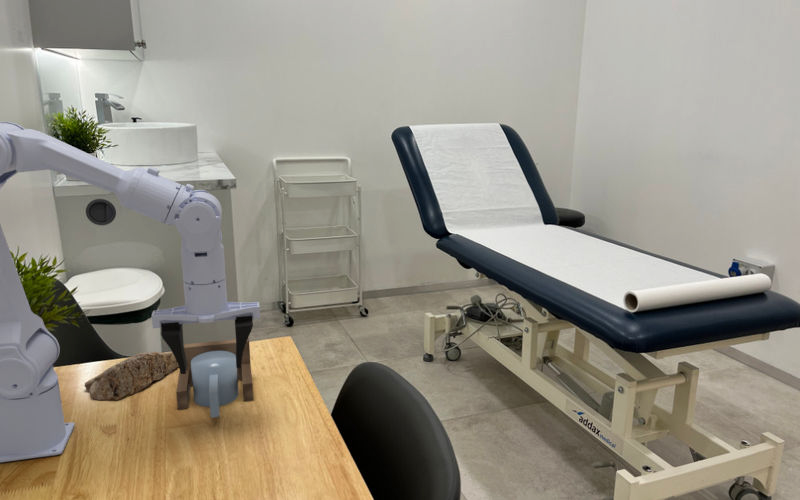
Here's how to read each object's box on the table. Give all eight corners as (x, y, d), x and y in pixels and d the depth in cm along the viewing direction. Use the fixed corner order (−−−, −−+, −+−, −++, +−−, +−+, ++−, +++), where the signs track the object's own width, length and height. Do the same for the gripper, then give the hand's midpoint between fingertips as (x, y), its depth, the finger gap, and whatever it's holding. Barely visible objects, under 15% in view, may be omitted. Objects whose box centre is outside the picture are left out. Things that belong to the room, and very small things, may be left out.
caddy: (177, 409, 94) (174, 368, 92) (181, 382, 102) (178, 344, 101) (253, 400, 97) (251, 360, 95) (251, 375, 105) (248, 338, 104)
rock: (121, 407, 95) (116, 374, 93) (70, 396, 98) (66, 364, 97) (183, 367, 109) (181, 337, 107) (138, 358, 112) (134, 330, 111)
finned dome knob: (190, 429, 88) (187, 389, 87) (194, 389, 100) (191, 353, 99) (239, 423, 90) (237, 383, 89) (238, 384, 102) (235, 348, 101)
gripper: (145, 291, 78) (155, 386, 82) (259, 283, 82) (264, 374, 86) (151, 276, 85) (160, 364, 88) (256, 269, 89) (261, 354, 92)
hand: (211, 368), depth 87 cm, fingers open, 7 cm apart
